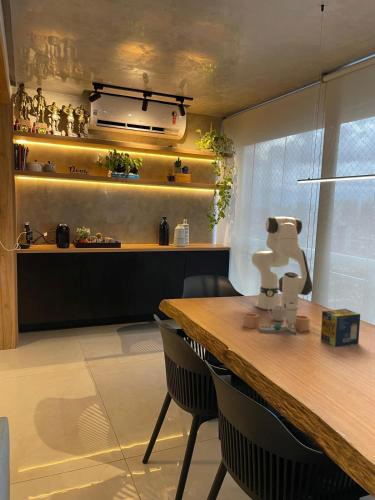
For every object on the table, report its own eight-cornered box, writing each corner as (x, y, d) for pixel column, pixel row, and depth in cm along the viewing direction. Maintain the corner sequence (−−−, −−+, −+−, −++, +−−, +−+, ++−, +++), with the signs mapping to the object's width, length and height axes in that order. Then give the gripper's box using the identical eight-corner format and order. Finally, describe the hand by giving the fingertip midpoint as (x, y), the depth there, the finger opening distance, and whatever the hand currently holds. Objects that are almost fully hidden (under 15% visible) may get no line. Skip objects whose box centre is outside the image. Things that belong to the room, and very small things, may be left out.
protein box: (320, 340, 191) (321, 310, 189) (343, 337, 196) (345, 308, 195) (334, 347, 181) (336, 316, 179) (359, 343, 186) (361, 313, 185)
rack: (260, 332, 202) (260, 329, 201) (259, 328, 209) (259, 325, 209) (296, 334, 199) (296, 331, 199) (293, 329, 207) (293, 327, 207)
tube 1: (243, 323, 218) (243, 312, 217) (258, 324, 217) (258, 313, 216) (243, 327, 209) (243, 316, 209) (259, 328, 208) (259, 317, 208)
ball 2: (284, 328, 206) (284, 321, 205) (291, 329, 205) (291, 322, 205) (285, 330, 202) (285, 323, 201) (292, 331, 201) (293, 324, 201)
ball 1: (273, 328, 206) (273, 321, 206) (280, 328, 206) (280, 321, 206) (273, 330, 202) (274, 323, 202) (281, 330, 202) (281, 323, 202)
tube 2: (292, 326, 214) (292, 314, 214) (307, 326, 213) (308, 315, 213) (294, 330, 206) (295, 319, 205) (310, 331, 205) (311, 319, 204)
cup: (265, 319, 226) (266, 307, 225) (269, 316, 233) (269, 304, 232) (283, 322, 221) (284, 309, 220) (286, 319, 228) (287, 306, 227)
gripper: (281, 298, 213) (280, 321, 214) (286, 306, 192) (285, 332, 194) (292, 298, 212) (291, 322, 213) (298, 307, 192) (297, 333, 193)
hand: (288, 327), depth 203 cm, fingers open, 7 cm apart
